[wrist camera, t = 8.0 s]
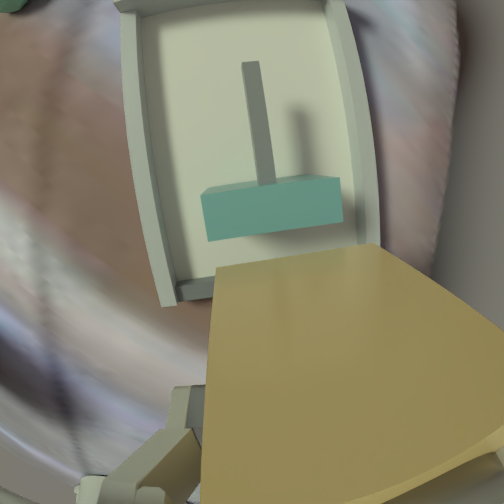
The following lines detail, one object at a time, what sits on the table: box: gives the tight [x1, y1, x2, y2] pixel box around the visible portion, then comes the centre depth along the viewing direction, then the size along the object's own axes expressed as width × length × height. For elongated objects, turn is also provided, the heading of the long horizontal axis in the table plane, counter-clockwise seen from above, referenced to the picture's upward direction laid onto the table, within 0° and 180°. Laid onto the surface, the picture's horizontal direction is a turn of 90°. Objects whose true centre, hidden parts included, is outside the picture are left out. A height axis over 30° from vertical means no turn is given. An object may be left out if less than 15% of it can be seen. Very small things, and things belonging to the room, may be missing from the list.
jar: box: [200, 243, 504, 504], centre depth 6 cm, size 6×6×9 cm
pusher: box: [200, 61, 343, 242], centre depth 14 cm, size 8×6×5 cm
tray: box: [113, 0, 380, 307], centre depth 15 cm, size 20×14×4 cm
